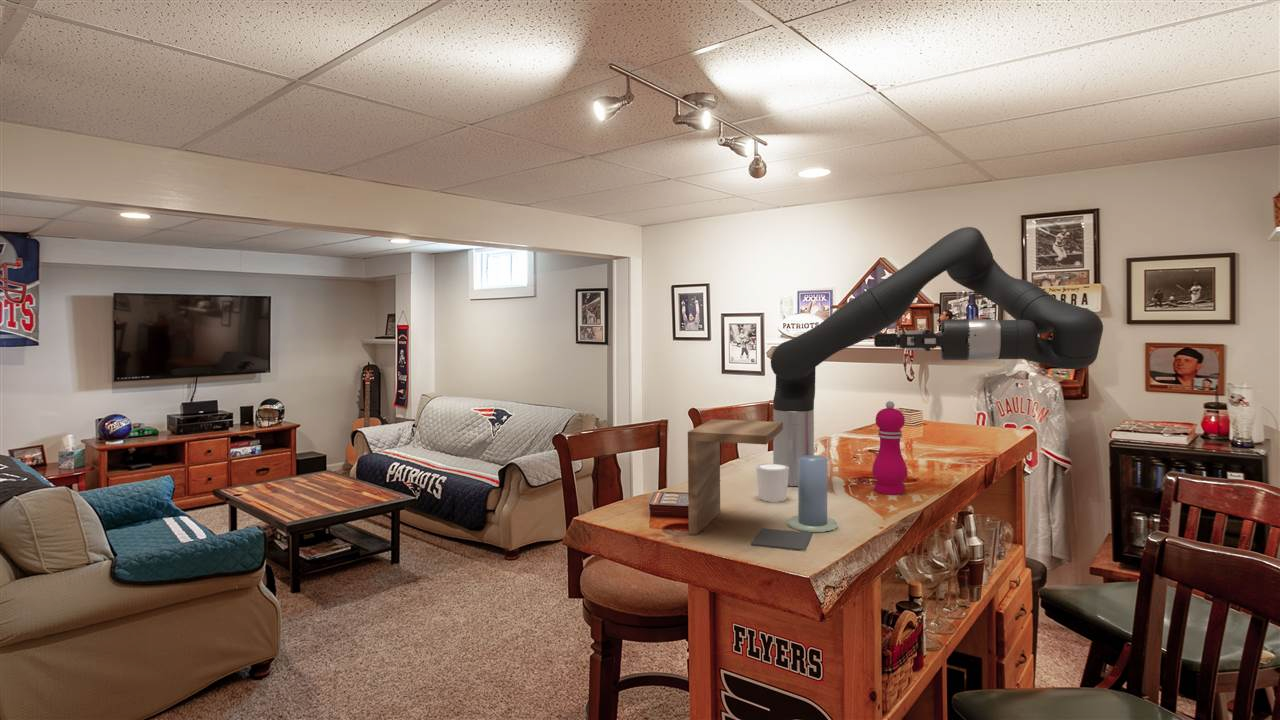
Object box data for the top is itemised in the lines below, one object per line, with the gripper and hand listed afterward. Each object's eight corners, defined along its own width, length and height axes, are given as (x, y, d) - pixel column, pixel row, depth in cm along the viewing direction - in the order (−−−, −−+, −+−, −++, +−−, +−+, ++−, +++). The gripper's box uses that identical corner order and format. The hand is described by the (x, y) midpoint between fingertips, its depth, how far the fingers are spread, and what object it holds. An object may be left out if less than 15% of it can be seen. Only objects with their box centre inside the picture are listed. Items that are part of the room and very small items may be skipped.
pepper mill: (884, 496, 143) (885, 403, 141) (865, 488, 150) (866, 400, 148) (914, 494, 144) (915, 402, 143) (894, 486, 151) (894, 398, 150)
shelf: (783, 517, 129) (782, 422, 128) (766, 542, 114) (766, 435, 113) (713, 510, 134) (712, 419, 133) (688, 534, 119) (687, 431, 118)
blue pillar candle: (793, 519, 125) (793, 456, 125) (818, 516, 127) (818, 454, 126) (806, 527, 120) (806, 461, 120) (832, 524, 122) (832, 459, 121)
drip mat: (761, 529, 122) (761, 527, 122) (812, 534, 118) (812, 533, 118) (750, 545, 113) (750, 543, 113) (804, 551, 110) (804, 549, 110)
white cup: (789, 503, 138) (789, 470, 138) (755, 502, 140) (755, 469, 139) (788, 495, 145) (788, 463, 145) (756, 494, 146) (756, 462, 146)
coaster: (779, 520, 127) (779, 517, 127) (821, 516, 129) (821, 513, 129) (801, 534, 118) (801, 531, 118) (847, 530, 120) (847, 526, 120)
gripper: (967, 319, 128) (877, 320, 134) (973, 319, 114) (873, 320, 120) (966, 358, 128) (876, 357, 134) (973, 362, 115) (873, 362, 121)
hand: (875, 340), depth 127 cm, fingers open, 8 cm apart
